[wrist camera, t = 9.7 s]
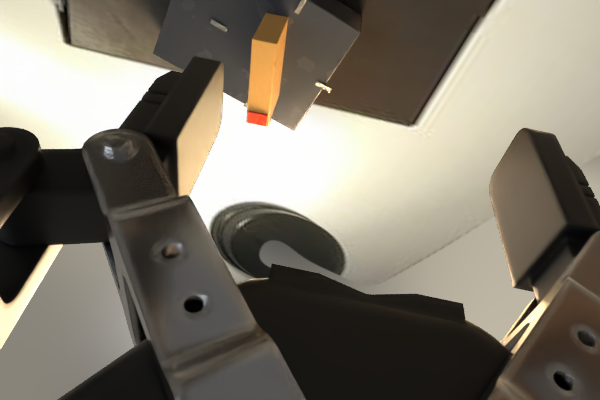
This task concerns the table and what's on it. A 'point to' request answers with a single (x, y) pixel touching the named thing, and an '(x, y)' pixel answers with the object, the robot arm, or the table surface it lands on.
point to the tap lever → (266, 68)
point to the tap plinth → (238, 41)
